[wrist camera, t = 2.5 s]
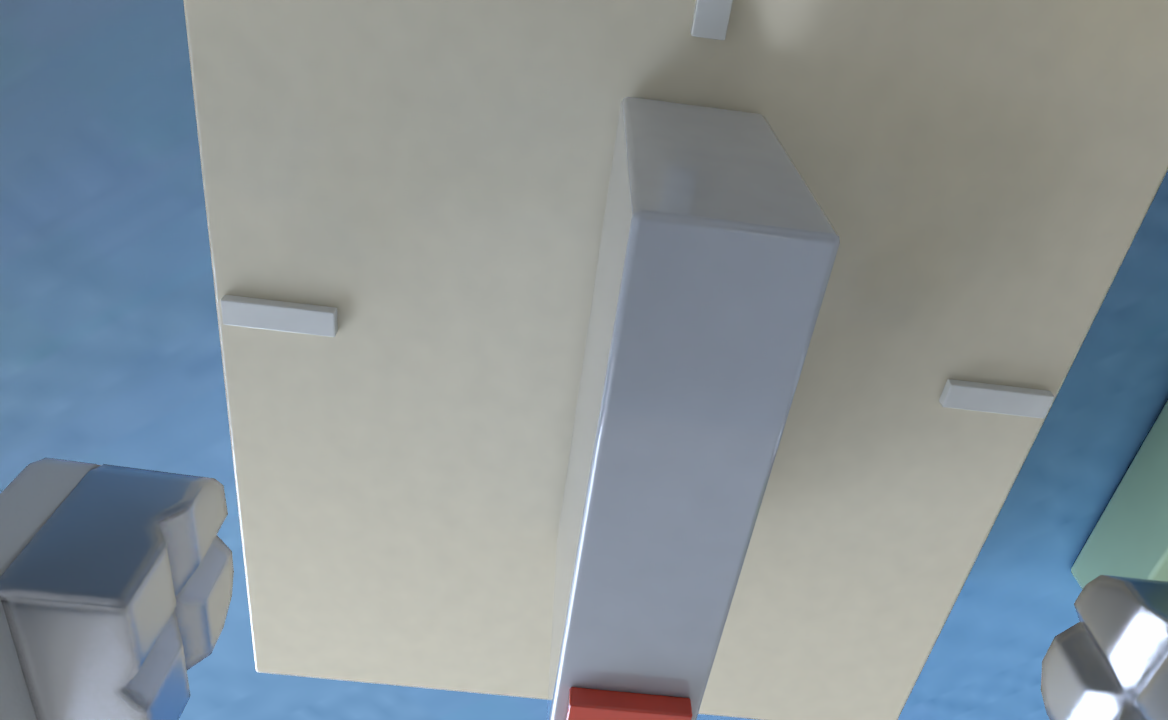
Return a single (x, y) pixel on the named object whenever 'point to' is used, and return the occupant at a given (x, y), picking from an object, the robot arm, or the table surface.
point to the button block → (1133, 518)
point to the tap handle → (679, 402)
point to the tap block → (565, 289)
